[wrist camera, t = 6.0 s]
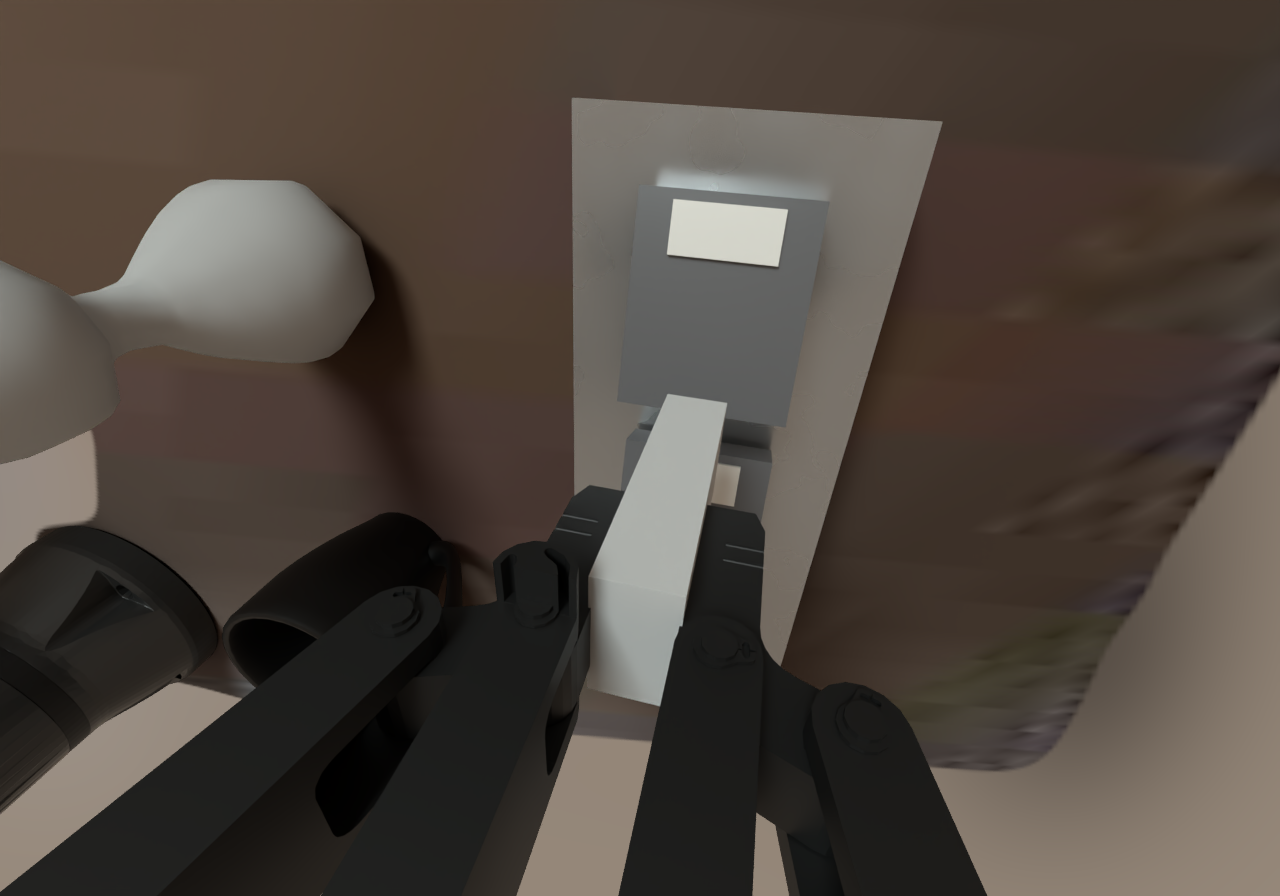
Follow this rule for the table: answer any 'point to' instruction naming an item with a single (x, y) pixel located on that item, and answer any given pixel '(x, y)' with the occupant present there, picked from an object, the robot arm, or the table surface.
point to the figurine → (181, 304)
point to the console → (839, 307)
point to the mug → (336, 589)
